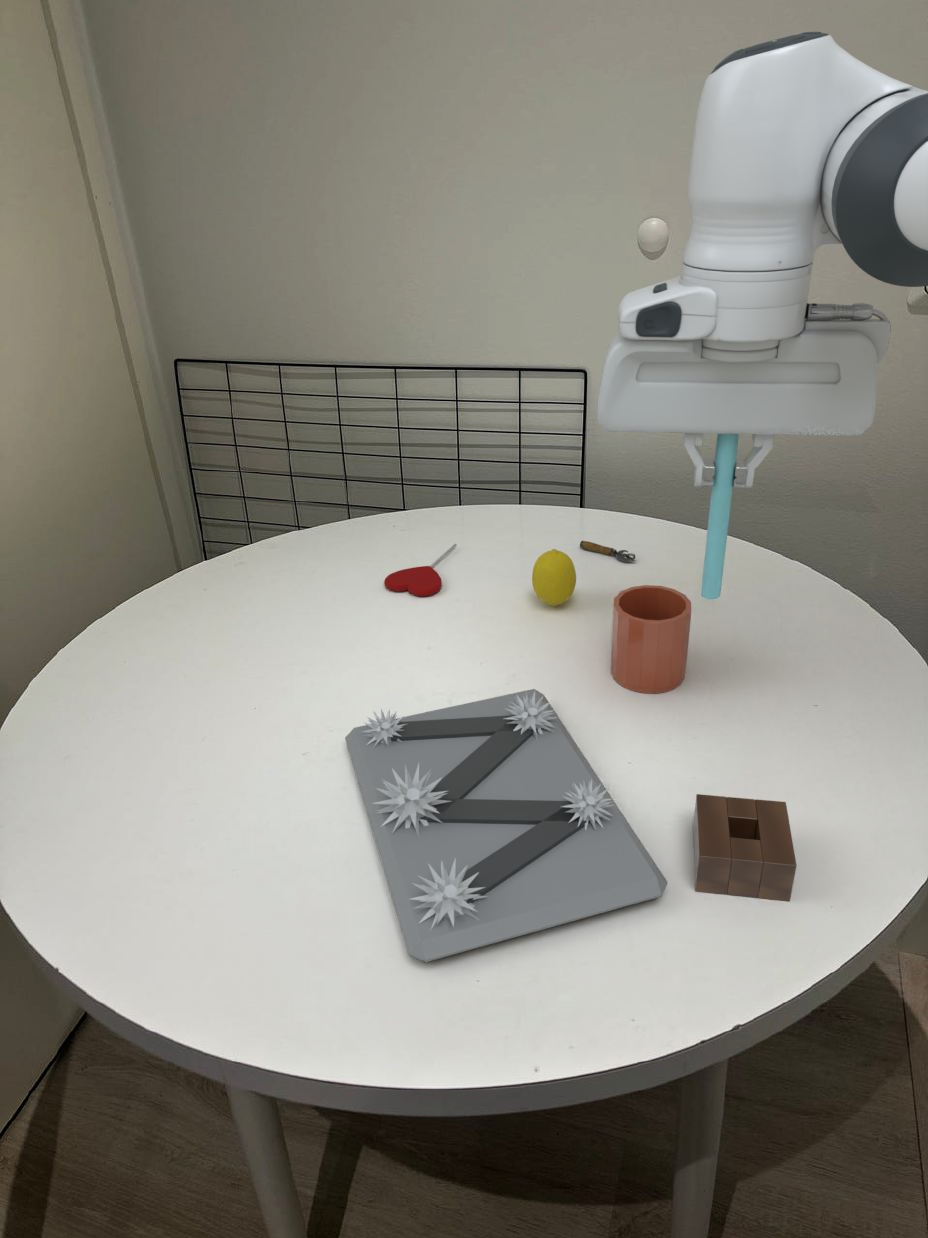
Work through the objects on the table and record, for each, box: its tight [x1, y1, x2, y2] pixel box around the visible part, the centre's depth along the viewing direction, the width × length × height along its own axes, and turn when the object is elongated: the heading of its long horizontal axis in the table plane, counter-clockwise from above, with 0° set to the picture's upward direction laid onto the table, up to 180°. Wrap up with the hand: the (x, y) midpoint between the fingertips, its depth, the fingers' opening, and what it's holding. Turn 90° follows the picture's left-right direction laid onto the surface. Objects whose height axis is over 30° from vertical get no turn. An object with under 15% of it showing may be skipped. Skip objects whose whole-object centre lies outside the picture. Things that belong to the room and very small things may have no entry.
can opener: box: [579, 540, 636, 563], centre depth 126 cm, size 9×2×1 cm, turn 49°
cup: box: [610, 584, 693, 695], centre depth 98 cm, size 8×8×9 cm
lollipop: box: [383, 543, 457, 597], centre depth 125 cm, size 8×1×15 cm
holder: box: [692, 793, 798, 902], centre depth 75 cm, size 7×7×4 cm
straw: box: [700, 434, 740, 601], centre depth 73 cm, size 2×2×15 cm
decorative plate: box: [345, 688, 668, 963], centre depth 80 cm, size 30×22×7 cm
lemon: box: [531, 548, 577, 607], centre depth 113 cm, size 6×6×8 cm
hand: (722, 484), depth 71 cm, fingers closed on straw, 1 cm apart
